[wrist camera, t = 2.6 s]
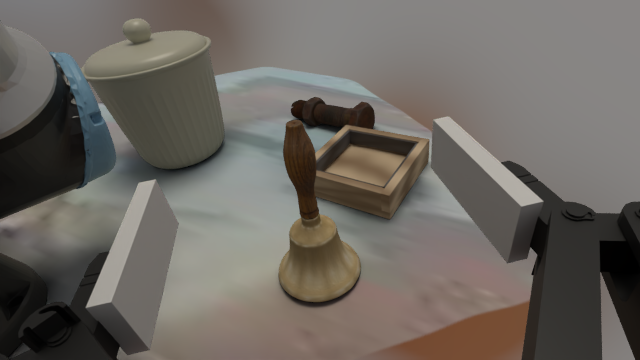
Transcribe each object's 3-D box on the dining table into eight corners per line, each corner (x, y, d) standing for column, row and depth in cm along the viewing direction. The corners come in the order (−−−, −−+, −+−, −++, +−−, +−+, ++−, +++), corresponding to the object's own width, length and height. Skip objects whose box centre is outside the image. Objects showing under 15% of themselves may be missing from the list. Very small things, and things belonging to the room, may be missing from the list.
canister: (112, 189, 54) (25, 48, 42) (158, 131, 68) (104, 14, 56) (227, 178, 52) (171, 26, 40) (250, 120, 67) (214, -4, 54)
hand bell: (271, 303, 33) (229, 152, 24) (285, 241, 40) (256, 106, 31) (361, 302, 32) (350, 144, 23) (359, 239, 39) (351, 99, 30)
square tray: (389, 219, 40) (389, 195, 38) (301, 192, 47) (296, 170, 45) (428, 161, 48) (429, 139, 46) (348, 145, 55) (346, 124, 53)
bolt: (302, 125, 66) (370, 141, 58) (283, 123, 62) (353, 140, 54) (307, 93, 65) (378, 104, 56) (288, 89, 61) (361, 101, 52)
